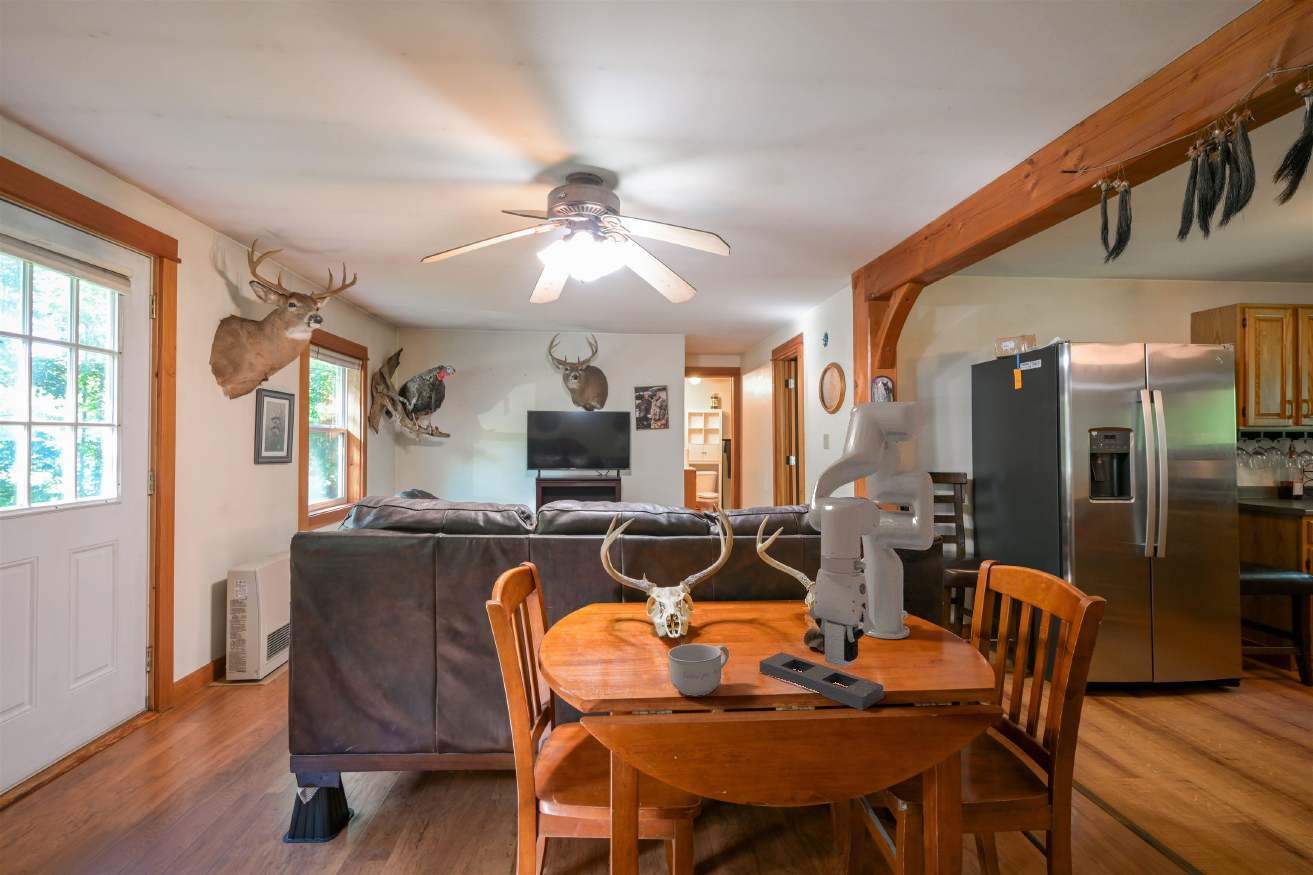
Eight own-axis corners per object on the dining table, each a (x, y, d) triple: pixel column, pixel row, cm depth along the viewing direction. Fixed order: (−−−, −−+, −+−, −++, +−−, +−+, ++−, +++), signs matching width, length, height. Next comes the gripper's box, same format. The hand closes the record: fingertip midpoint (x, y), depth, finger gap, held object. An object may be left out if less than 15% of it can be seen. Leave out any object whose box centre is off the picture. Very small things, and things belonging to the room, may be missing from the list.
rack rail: (759, 672, 131) (759, 661, 131) (781, 663, 136) (781, 651, 136) (862, 710, 113) (862, 697, 113) (883, 697, 119) (883, 684, 119)
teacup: (682, 706, 115) (682, 664, 115) (659, 684, 125) (659, 645, 125) (745, 693, 121) (745, 653, 121) (718, 673, 131) (718, 636, 131)
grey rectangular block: (836, 656, 124) (836, 614, 124) (854, 662, 121) (855, 619, 121) (824, 661, 121) (824, 618, 121) (843, 667, 118) (843, 623, 118)
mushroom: (840, 644, 139) (830, 618, 142) (807, 655, 140) (797, 629, 144) (844, 650, 145) (834, 625, 149) (812, 661, 147) (803, 635, 150)
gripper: (889, 568, 117) (889, 663, 117) (814, 555, 129) (814, 641, 129) (870, 574, 112) (869, 673, 112) (793, 560, 124) (793, 649, 124)
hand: (840, 655), depth 121 cm, fingers closed on grey rectangular block, 4 cm apart
